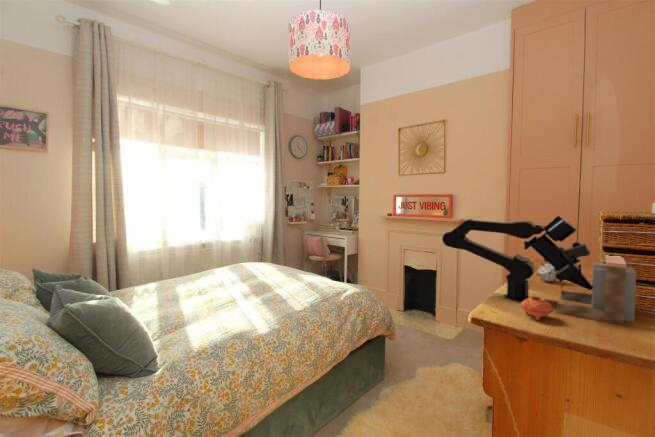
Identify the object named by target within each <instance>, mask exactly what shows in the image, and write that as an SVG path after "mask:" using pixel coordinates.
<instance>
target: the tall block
mask: <svg viewBox="0 0 655 437" xmlns="http://www.w3.org/2000/svg"><path fill="white" fill-rule="evenodd" d="M627 266H628V265H626V280H625V304H624V321H626V322H630V321H631V322H632V323H635V308H636V288H637V287H636V286H637V273H636V271H635V269H634V268H633V266H632V267H627ZM591 285H592V287H593V289H591V294H592V304H591V307H592V308H598V309H605V289H606V264H604V263H598V262H593V263H592V284H591ZM631 322H630V323H631Z"/></svg>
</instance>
